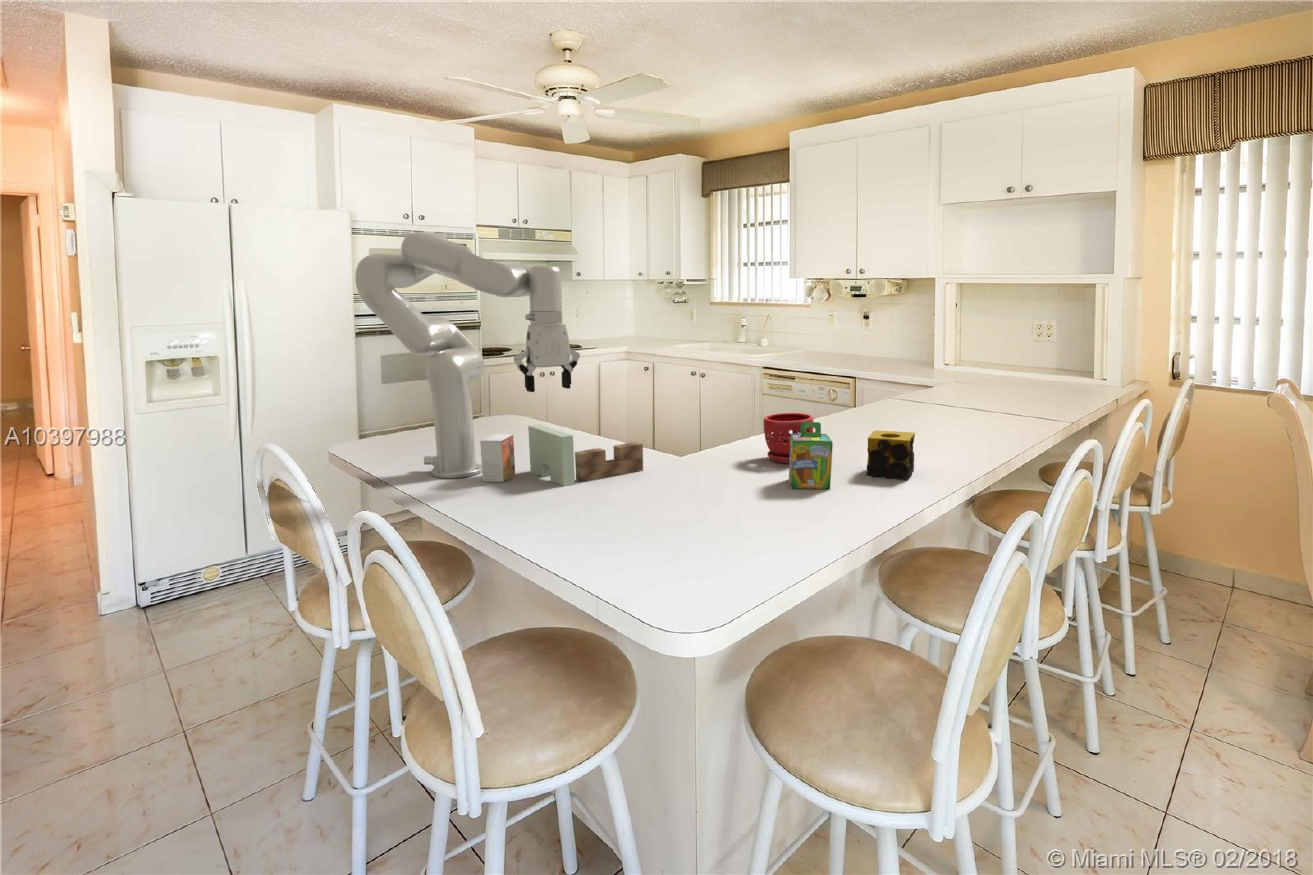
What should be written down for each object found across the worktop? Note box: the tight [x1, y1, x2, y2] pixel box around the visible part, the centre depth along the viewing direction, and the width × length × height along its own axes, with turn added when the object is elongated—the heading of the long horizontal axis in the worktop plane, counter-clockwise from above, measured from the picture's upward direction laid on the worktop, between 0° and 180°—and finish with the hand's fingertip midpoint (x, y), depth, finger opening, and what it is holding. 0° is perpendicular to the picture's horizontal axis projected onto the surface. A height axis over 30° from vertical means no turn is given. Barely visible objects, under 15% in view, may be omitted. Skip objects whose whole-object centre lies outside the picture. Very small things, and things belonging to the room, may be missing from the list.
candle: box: [866, 430, 916, 481], centre depth 182 cm, size 10×10×10 cm
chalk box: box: [788, 421, 834, 490], centre depth 173 cm, size 9×9×15 cm
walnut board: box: [574, 441, 644, 483], centre depth 185 cm, size 18×3×7 cm, turn 125°
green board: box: [527, 423, 576, 487], centre depth 183 cm, size 18×3×12 cm, turn 35°
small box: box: [479, 433, 516, 483], centre depth 184 cm, size 8×6×10 cm
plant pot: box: [763, 412, 814, 465], centre depth 198 cm, size 13×13×12 cm
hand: (548, 389), depth 180 cm, fingers open, 9 cm apart
